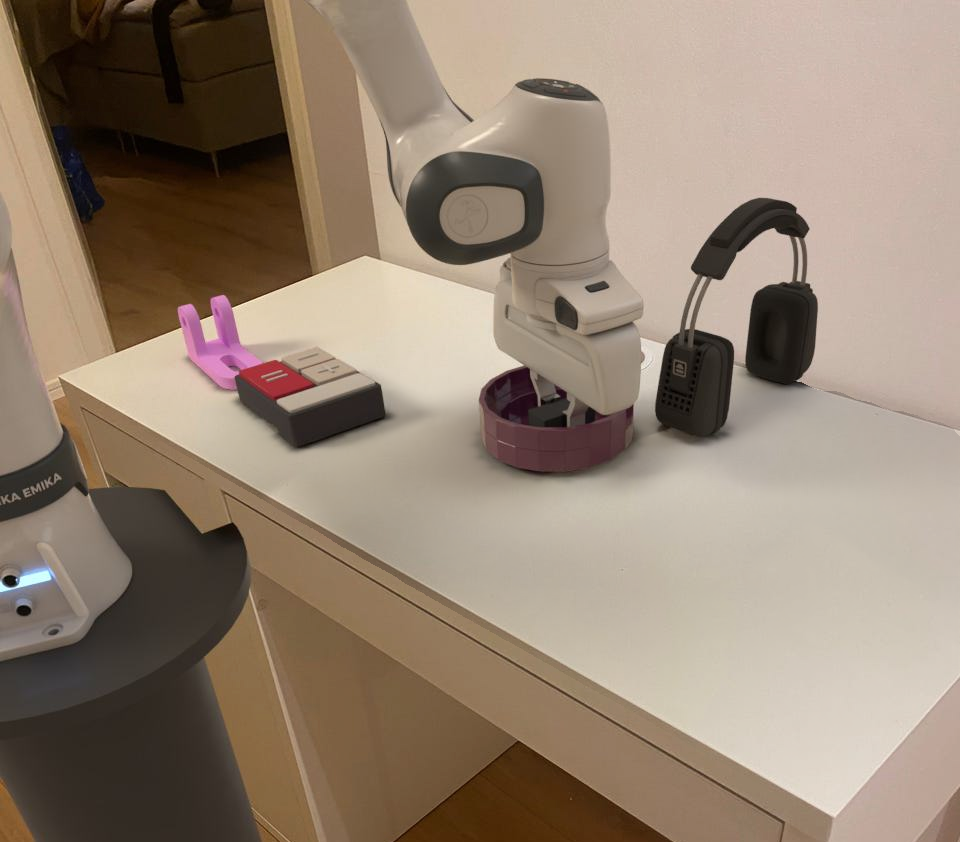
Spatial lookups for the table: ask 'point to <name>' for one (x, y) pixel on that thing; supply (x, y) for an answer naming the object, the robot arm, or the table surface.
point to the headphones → (771, 335)
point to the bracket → (216, 343)
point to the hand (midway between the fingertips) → (561, 420)
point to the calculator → (310, 395)
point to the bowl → (545, 429)
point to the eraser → (554, 414)
